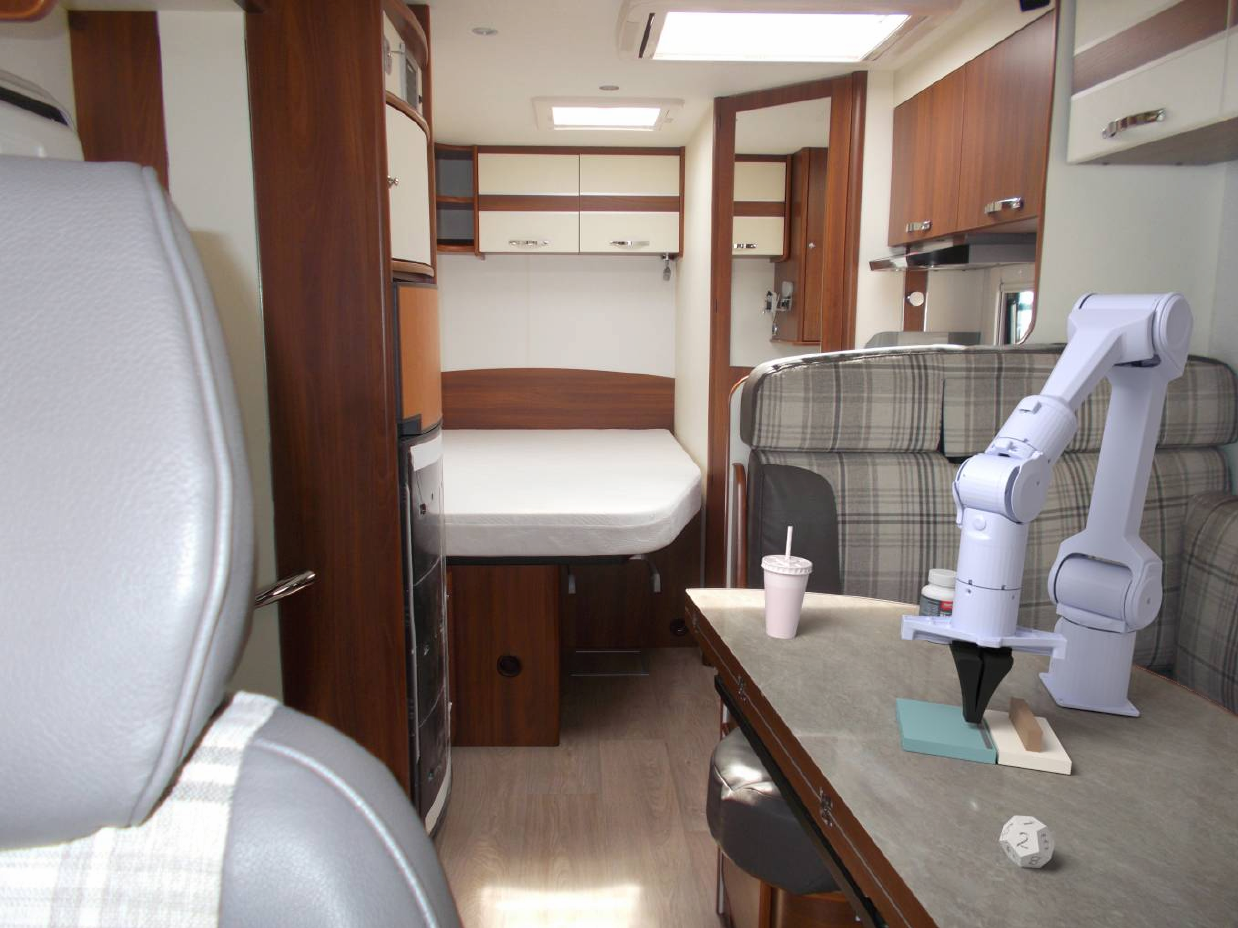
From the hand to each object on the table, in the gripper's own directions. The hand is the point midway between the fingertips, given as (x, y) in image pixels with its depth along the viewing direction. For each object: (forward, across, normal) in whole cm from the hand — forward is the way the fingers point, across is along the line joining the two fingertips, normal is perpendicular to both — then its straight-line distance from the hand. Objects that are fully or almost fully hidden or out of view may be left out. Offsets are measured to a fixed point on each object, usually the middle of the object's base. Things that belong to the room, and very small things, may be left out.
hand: (971, 719), depth 86 cm
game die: (+2, +1, -21) cm, 21 cm away
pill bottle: (+2, +1, +32) cm, 32 cm away
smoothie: (+2, -19, +25) cm, 32 cm away
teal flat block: (+2, -2, 0) cm, 3 cm away
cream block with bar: (+2, +5, 0) cm, 5 cm away
